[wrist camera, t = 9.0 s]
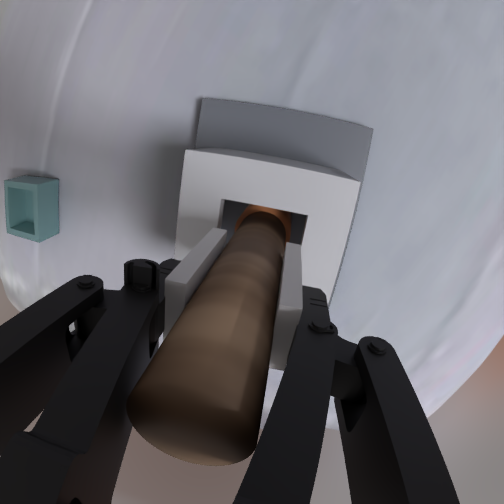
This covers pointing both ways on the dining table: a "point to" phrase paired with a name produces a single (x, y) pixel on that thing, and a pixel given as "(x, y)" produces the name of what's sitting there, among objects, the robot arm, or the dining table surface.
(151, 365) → the brown wooden rod
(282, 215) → the button
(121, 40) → the dining table surface
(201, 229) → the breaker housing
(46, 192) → the box
